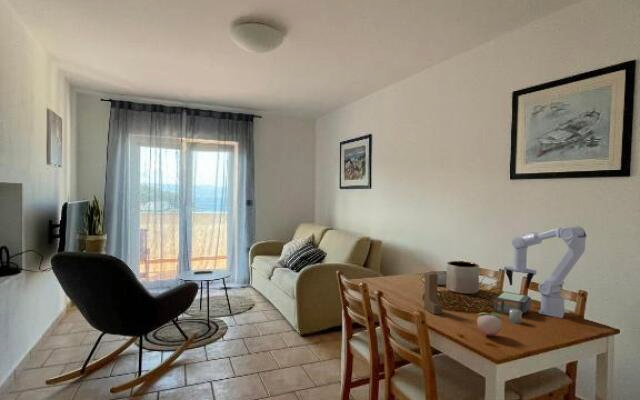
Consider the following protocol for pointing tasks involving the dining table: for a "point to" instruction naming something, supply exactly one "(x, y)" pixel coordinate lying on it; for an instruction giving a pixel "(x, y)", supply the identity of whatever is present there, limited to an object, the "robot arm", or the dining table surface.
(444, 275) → the tin
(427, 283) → the grey upright bracket
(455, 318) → the dining table surface
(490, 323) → the decorative fruit
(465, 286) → the planter
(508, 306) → the trapdoor frame
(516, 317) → the stone
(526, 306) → the trapdoor
